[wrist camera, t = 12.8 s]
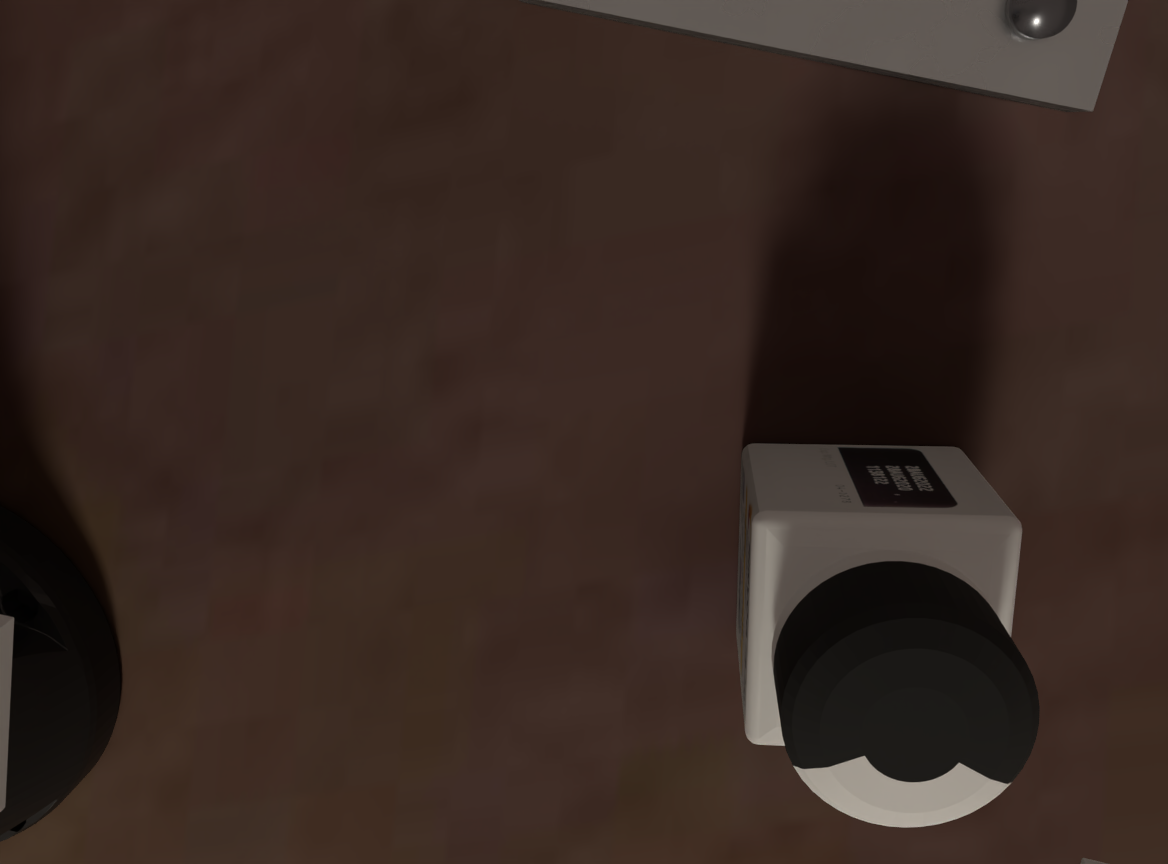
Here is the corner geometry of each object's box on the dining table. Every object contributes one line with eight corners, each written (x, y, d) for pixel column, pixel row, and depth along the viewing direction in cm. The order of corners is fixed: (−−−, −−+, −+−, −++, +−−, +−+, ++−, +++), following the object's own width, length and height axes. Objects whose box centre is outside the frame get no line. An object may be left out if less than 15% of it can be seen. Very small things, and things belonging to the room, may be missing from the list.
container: (741, 440, 39) (764, 589, 27) (962, 443, 39) (1092, 598, 26) (735, 636, 41) (754, 859, 29) (945, 643, 41) (1057, 874, 28)
